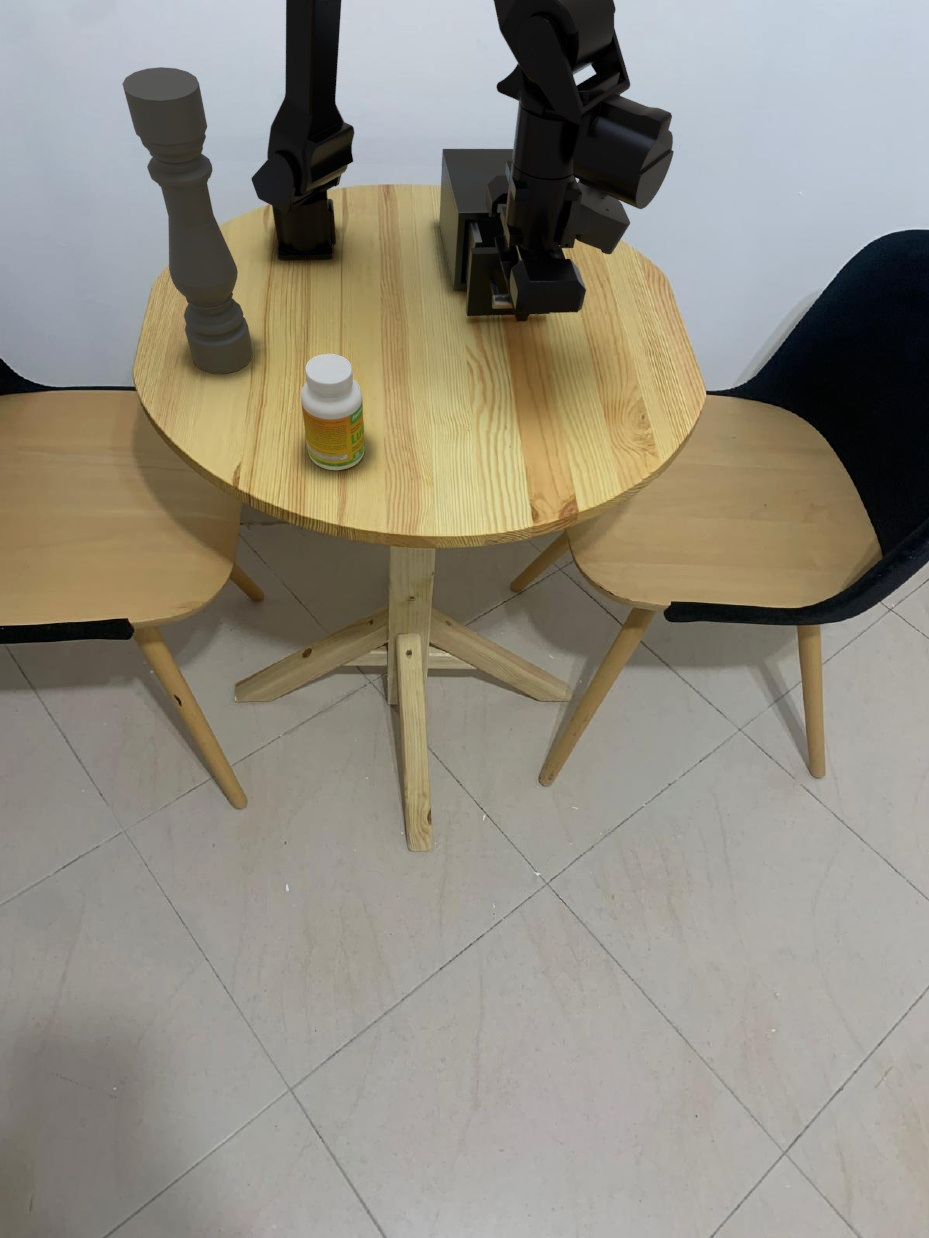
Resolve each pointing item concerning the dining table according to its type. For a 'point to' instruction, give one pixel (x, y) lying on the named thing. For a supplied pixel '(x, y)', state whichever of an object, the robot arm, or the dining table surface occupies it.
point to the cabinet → (466, 198)
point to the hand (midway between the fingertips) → (520, 319)
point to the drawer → (484, 270)
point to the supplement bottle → (332, 413)
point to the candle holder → (190, 214)
